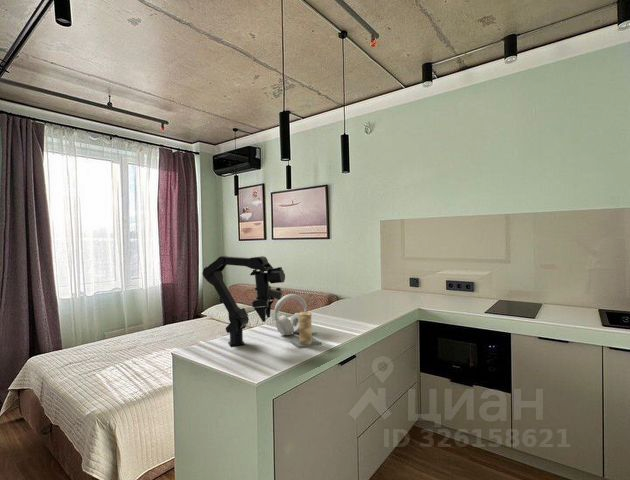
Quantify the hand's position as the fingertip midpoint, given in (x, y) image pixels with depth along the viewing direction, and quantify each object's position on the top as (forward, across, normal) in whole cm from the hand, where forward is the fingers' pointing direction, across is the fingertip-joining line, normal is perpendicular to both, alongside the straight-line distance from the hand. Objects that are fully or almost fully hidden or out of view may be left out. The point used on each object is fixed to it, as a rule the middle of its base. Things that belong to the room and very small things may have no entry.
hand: (266, 319), depth 144 cm
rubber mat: (+13, +5, -15) cm, 21 cm away
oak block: (+13, +3, -16) cm, 21 cm away
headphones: (+12, +20, -7) cm, 24 cm away
